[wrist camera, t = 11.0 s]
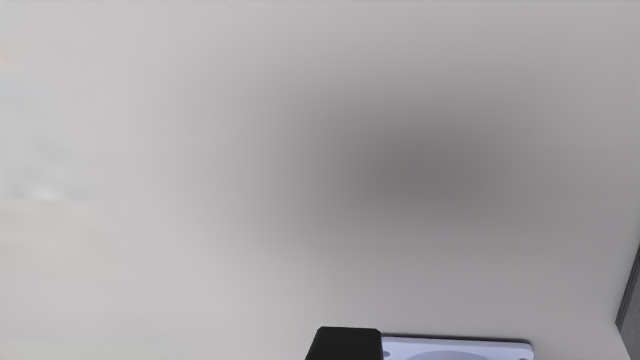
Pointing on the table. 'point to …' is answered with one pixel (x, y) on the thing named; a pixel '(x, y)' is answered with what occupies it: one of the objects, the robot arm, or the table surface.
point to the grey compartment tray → (631, 313)
